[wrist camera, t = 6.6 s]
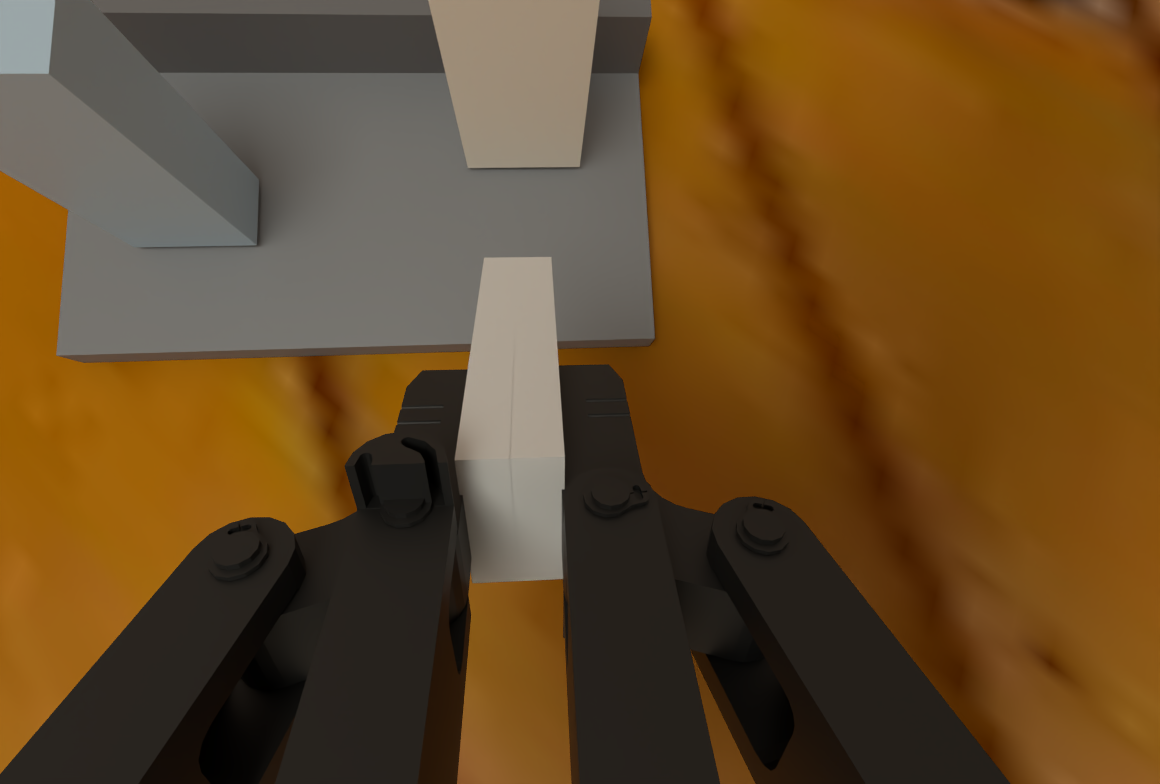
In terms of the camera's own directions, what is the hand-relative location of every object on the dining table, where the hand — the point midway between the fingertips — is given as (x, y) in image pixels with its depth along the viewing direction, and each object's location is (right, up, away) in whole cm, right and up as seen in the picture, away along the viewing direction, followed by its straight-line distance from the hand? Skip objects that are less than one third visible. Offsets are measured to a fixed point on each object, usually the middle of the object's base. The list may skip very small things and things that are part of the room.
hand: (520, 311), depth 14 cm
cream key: (-1, +10, +13) cm, 16 cm away
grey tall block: (-15, +6, +12) cm, 20 cm away
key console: (-8, +8, +14) cm, 18 cm away
